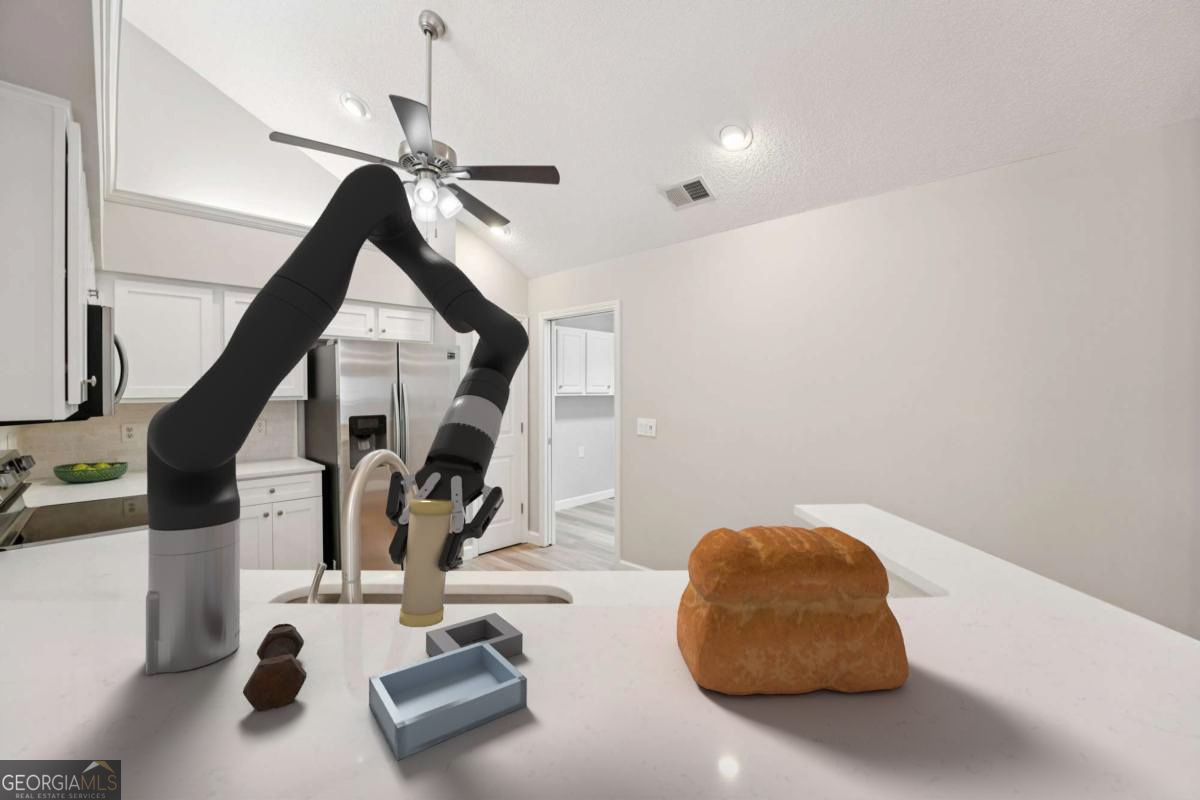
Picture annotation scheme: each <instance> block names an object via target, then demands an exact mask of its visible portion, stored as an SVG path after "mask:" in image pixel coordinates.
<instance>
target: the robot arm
mask: <svg viewBox="0 0 1200 800" xmlns="http://www.w3.org/2000/svg"><path fill="white" fill-rule="evenodd" d="M318 217H319V218H318V219H317V221H315V223H314V225H313V226H312V227H311V229H310V230H309V231H308V232H307V234H305V236H304V237H303V239H302V240H301V241H300V242H299V244H298V245H297V246H296V248H294V250H293V251H292V253H291V254H290V255H289V256H288V258H287V259H286V260H285V262H283V264H282V265H281V266H280V267H279V268H278V269H277V270H276V271H275V273H274V274H273V275H272V276H271V277H270V278H269V279H268V281H267V282H266V283H265V285H263V286H262V288H261V289H260V290H259V292H258V293H257V294H256V295H255V297H254V298H253V299H252V301H251V302H250V304H249V305H248V307H247V308H246V310H245V311H244V313H243V314H242V316H241V318H240V320H239V321H238V323H237V325H236V327H235V329H234V331H233V332H232V334H231V337H230V339H229V340H228V343H227V344H226V346H225V348H224V349H223V351H222V353H221V354H220V356H219V357H218V358H217V359H216V361H215V362H214V363H213V364H212V366H210V368H209V369H207V371H206V372H204V374H203V375H201V376H200V378H199V379H198V380H197V381H196V382H195V383H194V384H193V385H192V386H191V387H190V388H189V389H188V390H187V391H186V392H185V393H184V394H183V395H181V397H180V398H179V399H177V400H174V401H172V402H170V403H168V404H166V405H164V406H162V407H161V408H160V409H159V410H158V411H157V412H156V413H155V414H154V415H153V416H152V418H151V420H150V422H149V424H148V426H147V433H146V479H147V480H146V501H147V515H148V516H147V517H148V520H147V524H148V525H147V526H148V530H147V531H148V534H147V535H148V541H147V543H148V550H147V551H148V553H147V554H148V561H147V562H148V563H147V564H148V567H147V570H148V572H147V574H148V576H147V578H148V579H147V580H148V581H147V582H148V583H147V584H148V586H147V588H148V589H147V592H146V593H147V594H146V595H145V675H147V676H149V675H152V674H157V673H177V672H184V671H188V670H189V671H190V670H193V669H196V668H197V669H198V668H200V667H203V666H207V665H210V664H213V663H215V662H218V661H219V660H222V659H224V658H225V657H227V656H229V655H231V654H232V653H234V651H235V650H237V649H238V648H239V647H240V642H241V641H240V637H241V635H240V634H241V625H240V623H241V622H240V621H241V620H240V619H241V617H240V615H241V614H240V613H241V600H240V599H241V595H240V594H241V497H240V493H239V490H238V489H239V488H238V482H237V454H238V452H239V451H240V450H241V449H242V447H243V445H244V444H245V442H246V440H247V438H248V436H249V434H251V431H252V429H253V427H254V426H255V423H256V422H257V421H258V419H259V417H260V415H261V414H262V412H263V410H264V408H266V405H267V404H268V402H269V400H270V399H271V397H272V395H274V392H275V391H276V390H277V388H278V387H279V386H280V385H281V383H282V381H284V380H285V378H286V377H288V375H289V374H290V373H291V372H292V371H293V370H294V369H295V367H297V365H298V364H299V362H300V361H301V360H302V359H303V358H304V356H306V354H307V353H308V352H309V350H310V349H311V348H312V347H313V345H315V343H316V342H317V341H318V340H319V338H320V337H321V336H322V334H323V333H324V332H325V330H326V329H327V328H328V327H329V325H330V324H331V322H332V321H333V320H334V318H335V317H336V316H337V314H338V313H339V311H340V309H341V308H342V305H343V304H344V301H345V299H346V296H347V293H348V289H349V286H350V283H351V280H352V275H353V271H354V268H355V265H356V262H357V258H358V256H359V253H360V251H361V249H362V247H363V245H364V244H365V242H366V241H367V240H368V242H370V243H371V244H372V245H373V246H374V247H376V249H378V250H379V251H381V253H383V254H384V255H385V256H386V257H388V258H389V259H390V260H391V261H392V262H393V263H395V265H396V266H397V267H398V268H400V270H402V272H404V274H405V275H407V277H408V278H409V279H410V281H412V283H414V285H415V286H416V287H417V288H418V290H419V291H420V293H422V295H423V296H424V297H425V298H426V299H427V301H428V303H430V304H431V307H433V308H434V310H436V312H437V313H438V314H439V315H440V317H441V318H442V319H443V321H444V322H445V323H446V324H447V325H448V326H449V327H450V328H451V329H452V330H453V331H454V332H456V333H459V334H468V333H472V332H474V331H475V332H476V334H477V335H478V337H479V338H478V340H477V343H476V345H475V348H474V350H473V353H472V355H471V357H470V361H469V364H468V366H467V370H466V372H465V375H464V377H463V378H462V380H461V381H460V383H459V386H458V387H457V390H456V392H455V395H454V396H453V399H452V401H451V404H450V406H449V407H448V409H447V410H446V411H445V414H444V416H443V417H442V420H441V422H440V423H439V426H438V428H437V432H436V434H435V436H434V438H433V439H434V440H433V441H432V443H431V446H430V448H429V451H428V453H427V455H426V458H425V462H424V464H423V465H422V466H421V468H420V469H418V471H416V473H413V474H403V473H402V472H401V471H398V470H397V471H394V472H393V473H391V475H390V476H391V477H390V482H389V489H388V495H387V501H386V508H385V516H386V518H387V519H388V520H389V522H390V524H391V525H392V526H393V527H397V529H396V531H395V533H394V535H393V538H392V540H391V543H390V544H389V547H388V554H389V556H390V560H391V561H392V562H393V564H394V565H398V566H399V565H400V566H402V565H403V563H404V562H405V559H406V550H407V538H408V527H409V516H410V512H409V506H408V507H407V508H406V509H405V510H404V507H405V498H406V495H408V494H409V493H410V492H411V490H412V487H414V486H415V485H416V487H417V490H418V491H417V493H416V494H415V495H414V496H413V497H412V499H441V500H451V501H453V504H452V512H451V516H452V517H451V522H452V523H451V527H452V528H451V530H452V532H449V534H448V537H447V540H446V543H445V546H444V549H443V551H442V554H441V557H440V560H439V564H438V566H439V569H440V571H443V572H446V573H448V572H449V571H450V568H454V567H455V566H456V565H457V562H458V561H459V556H460V553H461V550H462V547H463V544H464V542H465V541H466V540H469V539H471V538H472V539H476V540H477V539H481V538H482V537H483V536H484V534H485V532H486V531H487V529H488V527H489V526H490V525H491V523H492V521H493V519H495V516H497V513H498V511H499V510H500V508H501V506H502V505H503V503H504V494H503V490H502V487H500V486H494V487H492V486H489V485H487V484H485V477H486V475H487V471H488V468H489V466H490V463H491V461H492V457H493V455H494V451H495V448H496V445H497V442H498V438H499V435H500V432H501V426H502V420H503V417H504V414H505V412H506V408H507V405H508V402H509V398H510V391H511V389H510V386H511V383H512V381H513V378H514V376H515V374H516V372H517V370H518V368H519V367H520V364H521V363H522V360H523V358H524V357H525V355H526V353H527V351H528V350H529V347H530V346H529V345H530V340H529V335H528V333H527V331H526V328H525V326H524V325H523V324H522V323H521V322H520V321H519V320H518V319H517V318H516V317H515V316H513V315H511V314H510V313H509V312H507V311H505V310H504V309H503V308H501V307H500V306H499V305H497V304H495V303H494V302H492V301H491V300H489V299H487V298H486V297H485V296H484V294H483V293H482V292H481V291H480V289H478V288H477V286H476V285H475V284H474V282H473V281H472V280H471V279H470V278H469V277H468V275H467V274H465V272H463V270H461V268H459V267H458V266H457V265H456V264H454V262H452V261H450V259H447V258H446V257H444V256H443V255H441V254H439V252H437V251H436V250H435V249H433V248H432V247H431V246H430V244H429V243H428V242H427V240H426V239H425V238H424V236H423V235H422V233H421V231H420V230H419V228H418V226H417V225H416V223H415V221H414V219H413V216H412V209H411V205H410V202H409V199H408V195H407V191H406V188H405V185H404V183H403V181H402V179H401V177H400V176H399V174H398V173H397V172H396V171H395V170H394V169H393V168H392V167H390V166H388V165H387V164H383V163H377V162H372V163H366V164H362V165H361V166H359V167H357V168H354V169H353V170H352V171H350V172H349V173H348V174H347V175H346V176H344V179H342V181H341V182H340V184H339V185H338V187H337V188H336V190H335V192H334V194H333V195H332V197H331V198H330V199H329V201H328V203H327V205H326V206H325V208H324V210H323V211H322V212H321V214H320V216H318ZM481 496H482V497H481ZM479 497H481V500H482V504H481V506H480V508H479V509H478V510H477V512H476V514H475V515H474V517H473V518H472V520H471V521H470V522H467V520H468V519H467V507H468V506H469V505H471V504H472V503H473V502H474V501H476V500H477V499H478V498H479Z"/></svg>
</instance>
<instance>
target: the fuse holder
mask: <svg viewBox="0 0 1200 800" xmlns="http://www.w3.org/2000/svg"><path fill="white" fill-rule="evenodd" d="M483 638H486V639H487V640H485V641H486V642H487V643H488V644H489V645H491V646H492V647H493V648H494V649H495V650H496V651H497V652H498V653H499V654H501V655H502V656H503V657H504V658H505V659H508V658H511V657H513V656H516V655H519V654H522V653H523V649H524V648H523V645H524V644H523V643H524V642H523V640H524V639H523V633H522V632H521V631H520V630H518V628H516V627H515V626H513V625H512V624H511V623H509V622H508V621H507V620H505V619H504V618H503V617H502V616H500V615H499V614H498V613H497V612H492V613H489V614H486V615H483V616H478V617H475V618H472V619H469V620H465V621H461V622H457V623H455V624H450V625H446V626H443V627H440V628H436V629H433V630H428V631H426V632H425V652H426V653H427V654H428V655H429V657H430V658H431V657H434V656H437V655H440V654H444V653H447V652H450V651H453V650H456V649H459V648H462V647H461V645H463V644H466V643H470V642H473V640H474V641H477V640H479V639H483ZM476 639H477V640H476Z"/></svg>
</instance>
